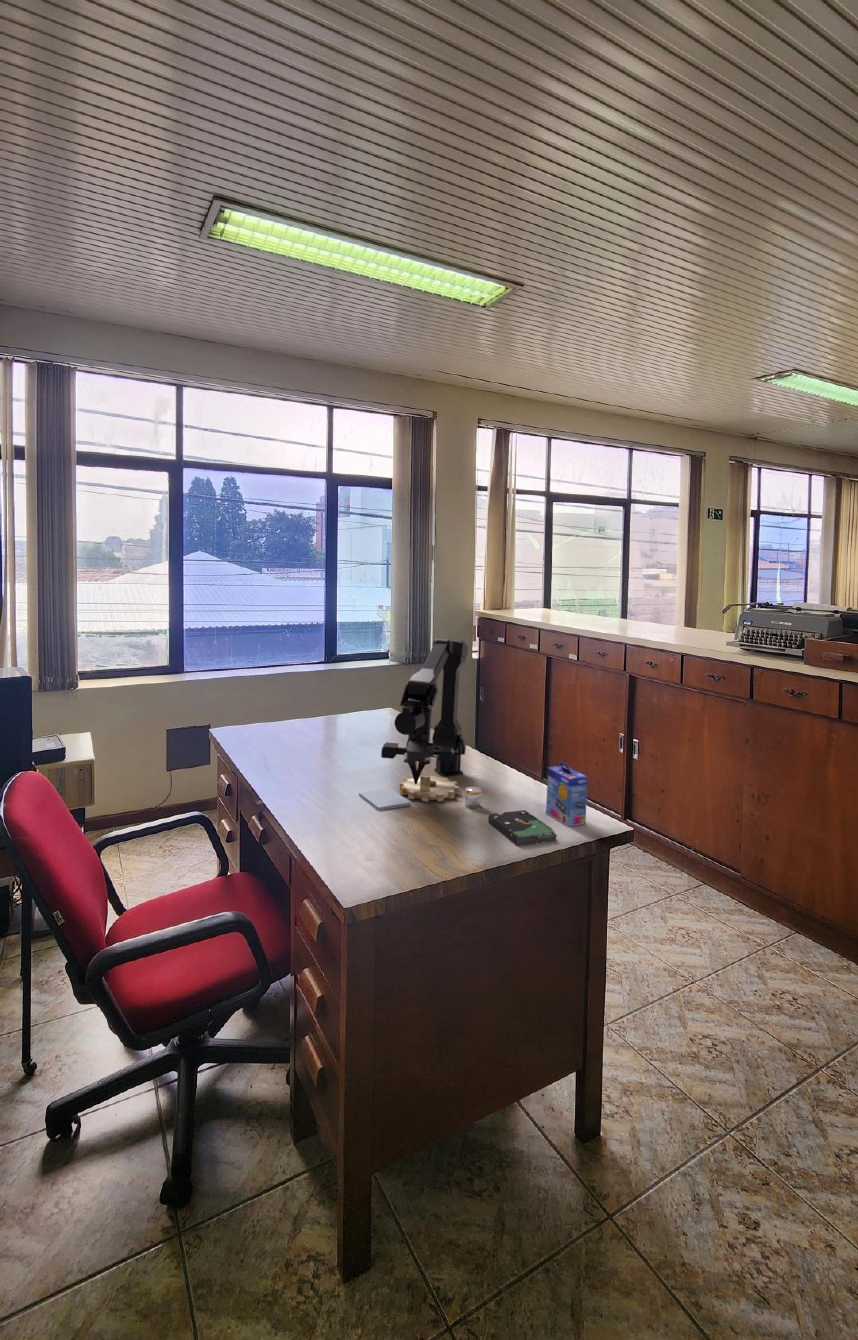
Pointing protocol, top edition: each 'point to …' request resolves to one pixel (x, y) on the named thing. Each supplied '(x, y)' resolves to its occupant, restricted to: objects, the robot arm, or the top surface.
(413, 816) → the top surface
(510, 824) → the disk drive
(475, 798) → the small glass jar
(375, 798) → the slate pad
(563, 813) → the ink cartridge box
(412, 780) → the sprocket wheel
